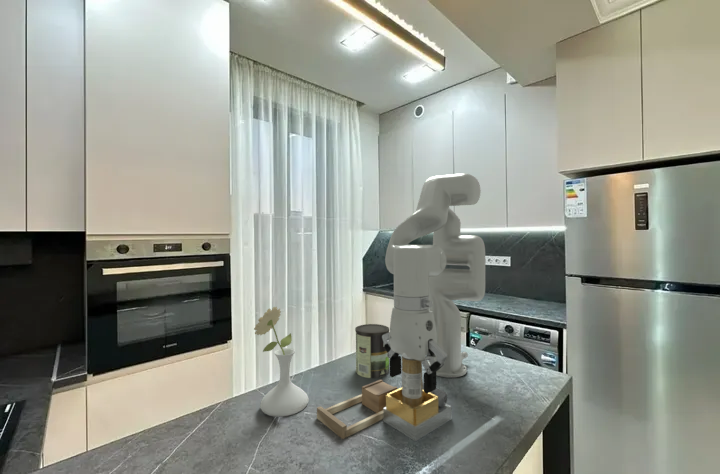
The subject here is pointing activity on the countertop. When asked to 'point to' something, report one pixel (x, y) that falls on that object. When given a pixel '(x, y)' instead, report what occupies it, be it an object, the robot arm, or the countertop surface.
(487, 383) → the countertop surface
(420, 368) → the sprinkles bottle
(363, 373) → the coffee can
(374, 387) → the tan cardboard box
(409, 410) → the gold open box
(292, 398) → the flower in vase
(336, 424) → the tray
